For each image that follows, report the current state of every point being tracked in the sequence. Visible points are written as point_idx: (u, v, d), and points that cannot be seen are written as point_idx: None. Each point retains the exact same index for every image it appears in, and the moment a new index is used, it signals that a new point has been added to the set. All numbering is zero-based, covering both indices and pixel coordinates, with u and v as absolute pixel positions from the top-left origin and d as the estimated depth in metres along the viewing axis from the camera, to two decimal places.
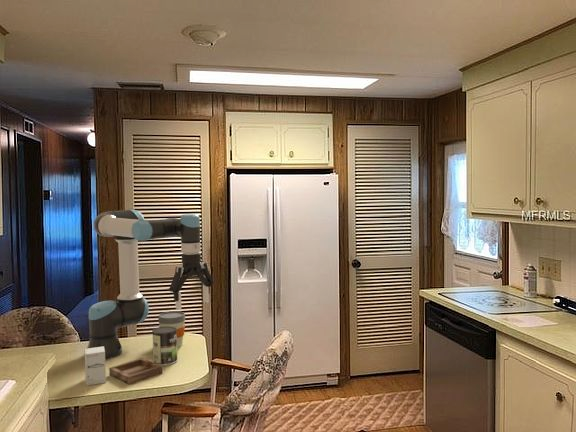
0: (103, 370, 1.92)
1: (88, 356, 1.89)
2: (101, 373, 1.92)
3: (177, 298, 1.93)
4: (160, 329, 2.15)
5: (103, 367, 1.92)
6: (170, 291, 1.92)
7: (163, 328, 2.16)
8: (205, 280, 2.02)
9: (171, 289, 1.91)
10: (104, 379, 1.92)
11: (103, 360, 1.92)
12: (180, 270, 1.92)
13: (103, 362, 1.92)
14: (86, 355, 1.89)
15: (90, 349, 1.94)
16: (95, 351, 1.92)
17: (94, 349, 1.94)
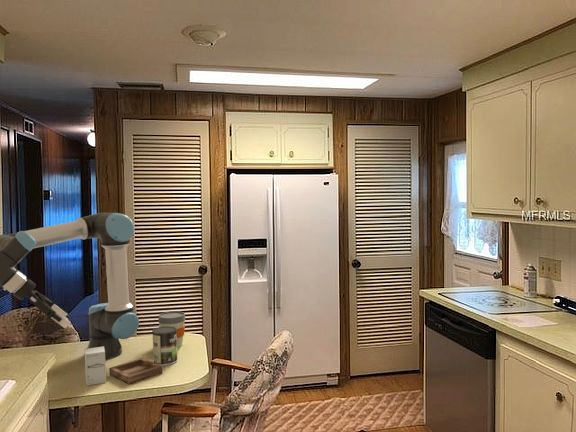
0: (103, 370, 1.92)
1: (88, 356, 1.89)
2: (101, 373, 1.92)
3: (54, 311, 1.93)
4: (160, 329, 2.15)
5: (103, 367, 1.92)
6: (50, 302, 1.94)
7: (163, 328, 2.16)
8: None
9: None
10: (104, 379, 1.92)
11: (103, 360, 1.92)
12: None
13: (103, 362, 1.92)
14: (86, 355, 1.89)
15: (90, 349, 1.94)
16: (95, 351, 1.92)
17: (94, 349, 1.94)
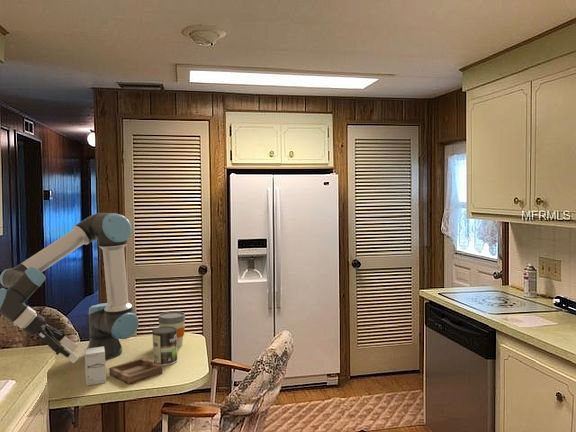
0: (103, 370, 1.92)
1: (88, 356, 1.89)
2: (101, 373, 1.92)
3: None
4: (160, 329, 2.15)
5: (103, 367, 1.92)
6: None
7: (163, 328, 2.16)
8: None
9: None
10: (104, 379, 1.92)
11: (103, 360, 1.92)
12: None
13: (103, 362, 1.92)
14: (86, 355, 1.89)
15: (90, 349, 1.94)
16: (95, 351, 1.92)
17: (94, 349, 1.94)
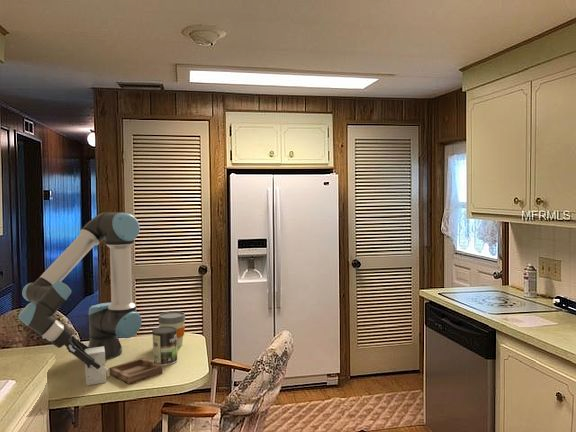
0: None
1: None
2: None
3: None
4: (160, 329, 2.15)
5: None
6: None
7: (163, 328, 2.16)
8: None
9: None
10: (104, 379, 1.92)
11: (103, 360, 1.92)
12: None
13: (103, 362, 1.92)
14: None
15: (90, 349, 1.94)
16: (95, 351, 1.92)
17: (94, 349, 1.94)
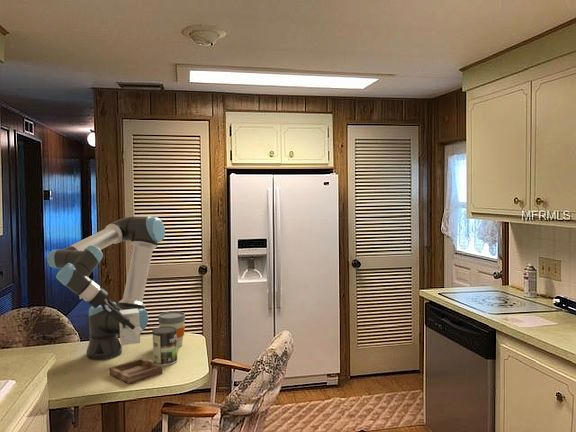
0: None
1: None
2: None
3: None
4: (160, 329, 2.15)
5: None
6: None
7: (163, 328, 2.16)
8: None
9: None
10: (138, 339, 1.96)
11: (137, 321, 1.96)
12: None
13: (137, 323, 1.96)
14: None
15: (124, 310, 1.98)
16: (130, 312, 1.96)
17: (128, 310, 1.98)
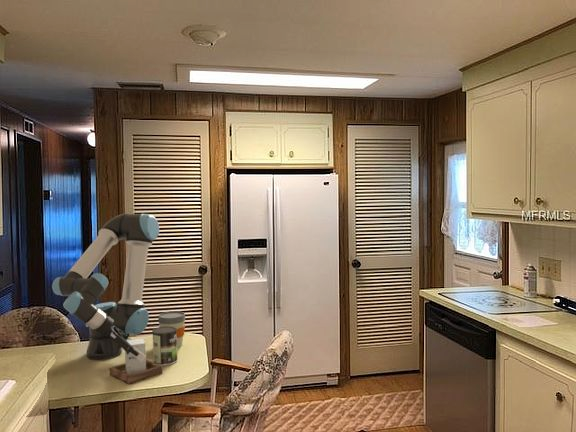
0: (144, 362, 1.98)
1: None
2: (141, 364, 1.98)
3: None
4: (160, 329, 2.15)
5: None
6: (125, 335, 2.08)
7: (163, 328, 2.16)
8: None
9: None
10: (144, 370, 1.98)
11: (143, 351, 1.98)
12: None
13: (143, 353, 1.98)
14: None
15: (130, 341, 2.00)
16: (136, 343, 1.98)
17: (134, 341, 2.00)
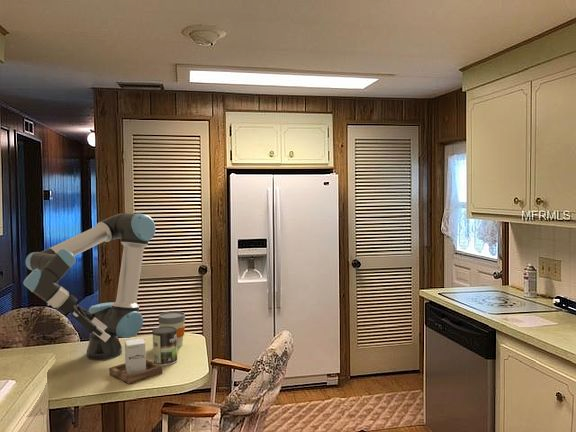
0: (144, 362, 1.98)
1: (129, 348, 1.95)
2: (141, 364, 1.98)
3: None
4: (160, 329, 2.15)
5: (143, 358, 1.98)
6: None
7: (163, 328, 2.16)
8: None
9: None
10: (144, 370, 1.98)
11: (143, 351, 1.98)
12: None
13: (143, 353, 1.98)
14: (127, 346, 1.95)
15: (130, 341, 2.00)
16: (136, 343, 1.98)
17: (134, 341, 2.00)
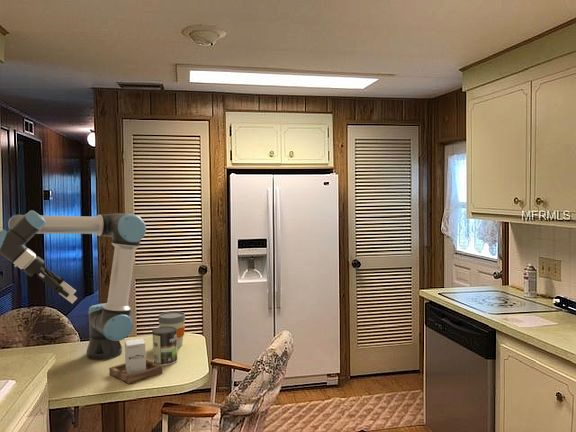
0: (144, 362, 1.98)
1: (129, 348, 1.95)
2: (141, 364, 1.98)
3: (64, 287, 2.01)
4: (160, 329, 2.15)
5: (143, 358, 1.98)
6: None
7: (163, 328, 2.16)
8: None
9: None
10: (144, 370, 1.98)
11: (143, 351, 1.98)
12: None
13: (143, 353, 1.98)
14: (127, 346, 1.95)
15: (130, 341, 2.00)
16: (136, 343, 1.98)
17: (134, 341, 2.00)
